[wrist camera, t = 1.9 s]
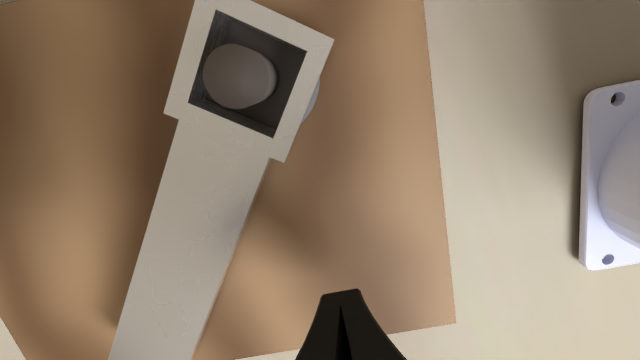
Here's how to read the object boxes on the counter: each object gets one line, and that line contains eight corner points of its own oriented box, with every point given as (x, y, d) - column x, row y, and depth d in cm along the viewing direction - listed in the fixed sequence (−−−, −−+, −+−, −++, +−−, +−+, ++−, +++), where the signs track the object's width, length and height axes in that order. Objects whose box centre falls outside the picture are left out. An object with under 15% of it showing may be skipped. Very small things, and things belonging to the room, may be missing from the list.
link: (218, -8, 10) (201, -23, 9) (332, 44, 11) (334, 39, 9) (115, 338, 15) (91, 368, 13) (201, 366, 15) (187, 398, 14)
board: (403, -80, 11) (455, -180, 7) (446, 305, 16) (493, 390, 11) (-118, 48, 12) (-351, 32, 8) (63, 369, 17) (-24, 467, 13)
